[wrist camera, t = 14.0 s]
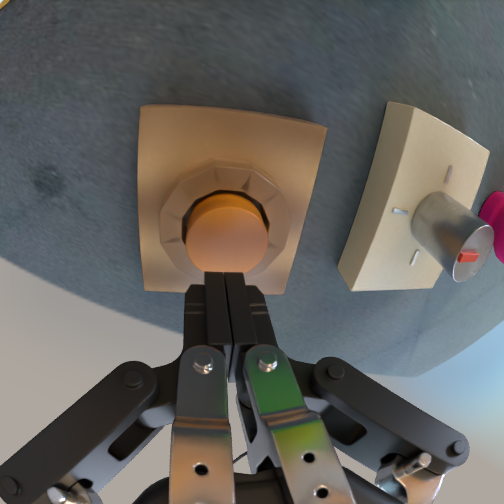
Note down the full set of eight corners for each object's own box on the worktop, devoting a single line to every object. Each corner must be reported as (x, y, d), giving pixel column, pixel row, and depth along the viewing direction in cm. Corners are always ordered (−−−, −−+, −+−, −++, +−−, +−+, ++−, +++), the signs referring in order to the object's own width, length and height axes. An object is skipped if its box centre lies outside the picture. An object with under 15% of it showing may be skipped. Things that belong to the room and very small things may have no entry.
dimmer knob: (457, 194, 16) (504, 229, 12) (439, 243, 19) (478, 282, 14) (422, 187, 15) (475, 226, 11) (403, 242, 18) (445, 288, 14)
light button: (255, 260, 16) (261, 279, 15) (186, 257, 15) (184, 276, 14) (268, 196, 14) (275, 210, 12) (189, 190, 13) (187, 204, 12)
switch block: (277, 276, 22) (289, 312, 18) (148, 271, 20) (140, 309, 16) (314, 122, 15) (342, 133, 12) (148, 104, 13) (130, 109, 10)
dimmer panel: (416, 269, 24) (433, 289, 22) (336, 268, 22) (351, 292, 20) (466, 140, 17) (491, 152, 14) (387, 100, 15) (416, 106, 12)
